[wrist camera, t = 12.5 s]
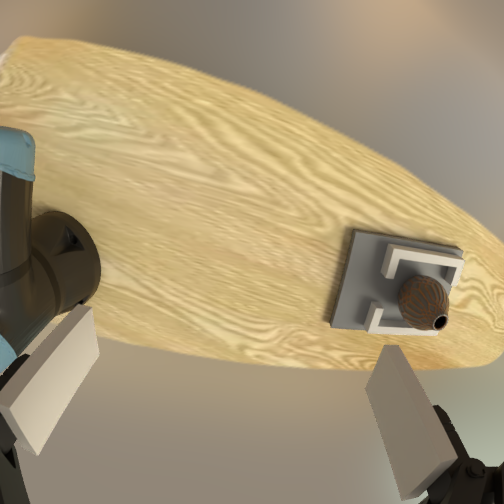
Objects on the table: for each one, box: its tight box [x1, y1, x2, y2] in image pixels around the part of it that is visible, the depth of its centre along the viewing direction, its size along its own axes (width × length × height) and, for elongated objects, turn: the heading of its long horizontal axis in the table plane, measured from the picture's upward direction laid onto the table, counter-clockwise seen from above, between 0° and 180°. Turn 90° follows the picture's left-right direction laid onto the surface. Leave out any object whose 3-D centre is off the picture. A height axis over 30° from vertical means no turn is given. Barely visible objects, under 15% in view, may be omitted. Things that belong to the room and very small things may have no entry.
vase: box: [398, 275, 449, 331], centre depth 35 cm, size 7×7×9 cm
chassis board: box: [330, 229, 465, 336], centre depth 39 cm, size 18×14×3 cm
